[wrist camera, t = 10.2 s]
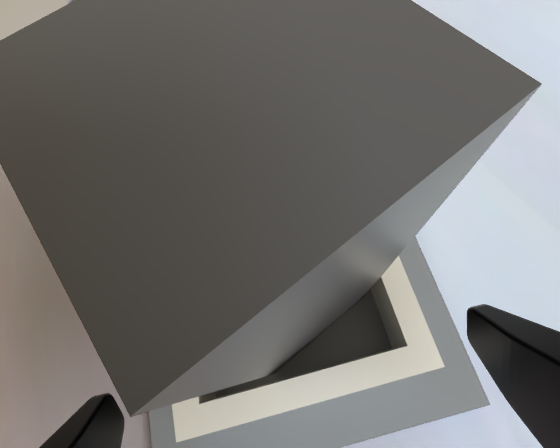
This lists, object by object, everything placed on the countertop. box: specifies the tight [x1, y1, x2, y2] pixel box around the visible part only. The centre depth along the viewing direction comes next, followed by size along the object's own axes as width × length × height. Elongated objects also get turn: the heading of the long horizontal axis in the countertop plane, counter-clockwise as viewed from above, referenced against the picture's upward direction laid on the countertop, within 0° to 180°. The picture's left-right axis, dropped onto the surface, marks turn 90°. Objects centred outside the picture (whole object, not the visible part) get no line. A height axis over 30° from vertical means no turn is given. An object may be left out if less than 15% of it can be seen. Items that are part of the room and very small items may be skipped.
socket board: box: [149, 237, 490, 448], centre depth 15 cm, size 14×14×3 cm
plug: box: [0, 0, 541, 417], centre depth 10 cm, size 6×6×13 cm
